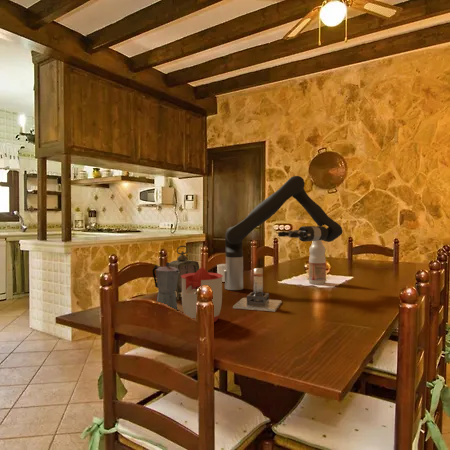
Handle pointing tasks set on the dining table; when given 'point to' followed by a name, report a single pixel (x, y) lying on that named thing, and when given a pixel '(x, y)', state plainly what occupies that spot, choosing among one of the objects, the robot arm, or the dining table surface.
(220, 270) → the white cup
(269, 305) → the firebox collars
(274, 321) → the dining table surface
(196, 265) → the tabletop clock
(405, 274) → the dining table surface
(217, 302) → the citrus juicer
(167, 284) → the moka pot
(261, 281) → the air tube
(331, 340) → the dining table surface
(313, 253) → the fruit juice
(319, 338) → the dining table surface
